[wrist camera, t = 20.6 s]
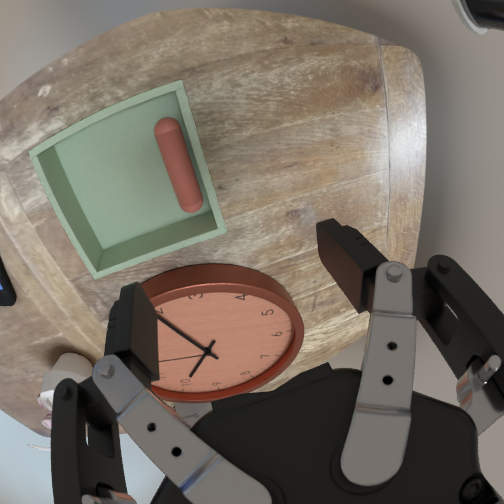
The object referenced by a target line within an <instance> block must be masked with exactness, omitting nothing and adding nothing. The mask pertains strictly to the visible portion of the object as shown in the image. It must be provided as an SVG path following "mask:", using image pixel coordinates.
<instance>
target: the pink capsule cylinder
mask: <svg viewBox="0 0 504 504" xmlns="http://www.w3.org/2000/svg"><path fill="white" fill-rule="evenodd" d="M154 135H155V138H156V141H157V144H158V147H159V150H160V153H161V155H162V158H163V161H164V164H165V167H166V170H167V172H168V175H169V178H170V181H171V183H172V186H173V189H174V192H175V194H176V197H177V200H178V202H179V205H180V207H181V209H182V210H183V211H185V212H187V213H195V212H197V211H198V210H200V208H201V207H202V205H203V196H202V193H201V190H200V187H199V184H198V181H197V178H196V175H195V172H194V168H193V165H192V162H191V159H190V156H189V153H188V150H187V146H186V143H185V140H184V137H183V134H182V130H181V127H180V124H179V123H178V121H177V120H176V119H174V118H171V117H165V118H162V119H161V120H159V121H158V122H157V123H156V125H155V127H154Z"/></svg>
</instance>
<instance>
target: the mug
mask: <svg viewBox="0 0 504 504" xmlns="http://www.w3.org/2000/svg"><path fill="white" fill-rule="evenodd" d="M211 410H212V405H211V402H210V403H177V402H176V403H175V411H176V413H177V414H178V415H179V416H181V417H182V418H183V419H184V420H185V421H187V422H188V423H189V424H190V425H192V426H193V425H194V424H195V423H196V422H197V420H198V419H200V418H201V417H202V416H203V415H205V414H206V413H207V412H209V411H211Z"/></svg>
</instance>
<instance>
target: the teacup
mask: <svg viewBox="0 0 504 504" xmlns="http://www.w3.org/2000/svg"><path fill="white" fill-rule="evenodd" d="M38 402H39V404H40V405H41V406H42V407H43V408H45V409H46V410H48V411H49V413H48V415H47V416H46V418H44V419H43V421H42V424H43V425H44V426H46V427H48V428H49V429H51V419H52V410H50V409H48V408H47V407H46V406H45V405H44V404H43V403H42V401H41V400H40V396H39V397H38Z"/></svg>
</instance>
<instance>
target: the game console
mask: <svg viewBox="0 0 504 504" xmlns="http://www.w3.org/2000/svg"><path fill="white" fill-rule="evenodd" d="M15 302H16V296H15V294H14V292H13V290H12V287H11V285H10V283H9V280H8V278H7V276H6V273H5V271H4V269H3V266H2V263H1V261H0V306H13V305H14V304H15Z"/></svg>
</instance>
